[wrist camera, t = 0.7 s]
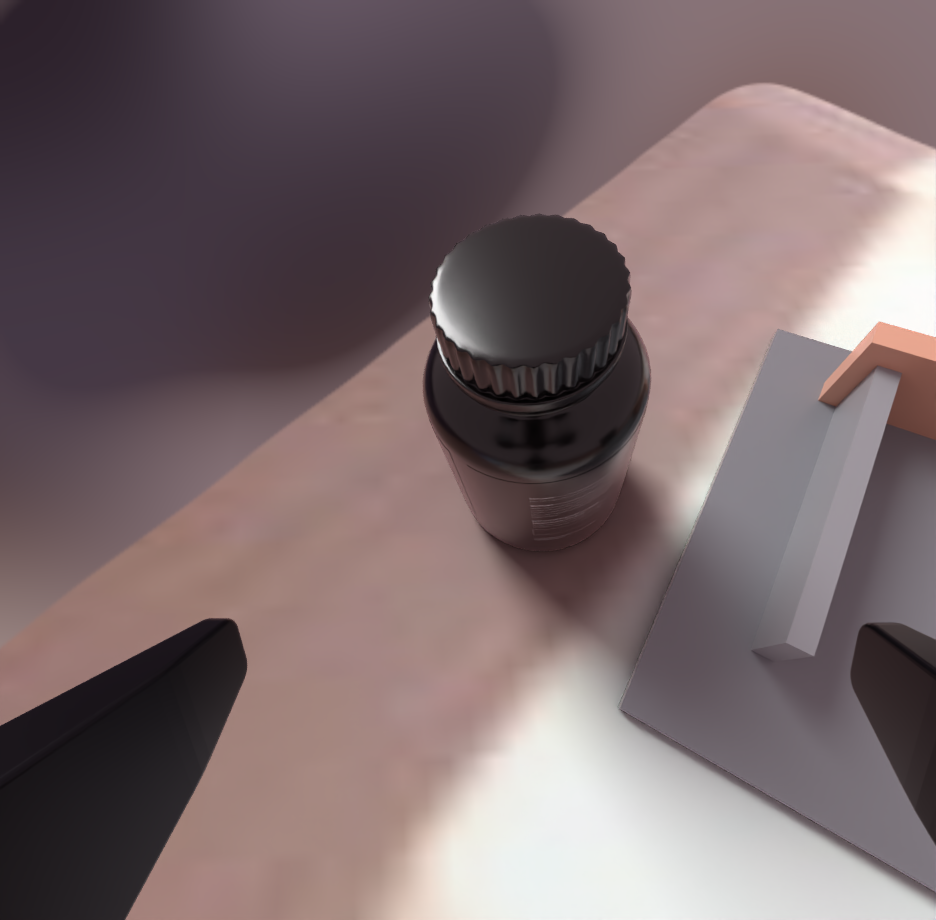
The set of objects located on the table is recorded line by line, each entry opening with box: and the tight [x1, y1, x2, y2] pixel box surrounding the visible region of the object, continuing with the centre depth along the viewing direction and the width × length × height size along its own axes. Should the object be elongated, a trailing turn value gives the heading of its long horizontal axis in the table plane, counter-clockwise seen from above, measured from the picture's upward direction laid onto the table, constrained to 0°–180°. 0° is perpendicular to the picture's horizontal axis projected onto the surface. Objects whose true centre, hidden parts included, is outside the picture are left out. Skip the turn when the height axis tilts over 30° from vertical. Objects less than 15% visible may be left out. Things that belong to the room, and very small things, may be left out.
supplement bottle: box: [423, 214, 651, 551], centre depth 17 cm, size 7×7×12 cm
